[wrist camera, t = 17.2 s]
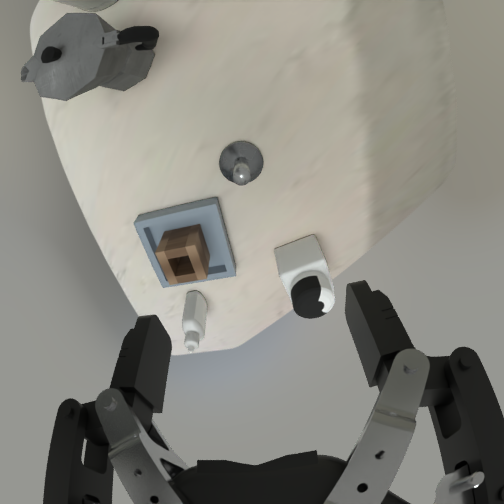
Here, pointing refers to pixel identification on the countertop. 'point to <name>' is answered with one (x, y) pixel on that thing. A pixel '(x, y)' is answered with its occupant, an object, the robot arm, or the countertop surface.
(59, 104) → the countertop surface
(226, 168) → the grey metal coffee tamper
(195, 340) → the eye dropper bottle
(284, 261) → the medicine bottle
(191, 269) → the block
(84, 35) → the coffeepot
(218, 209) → the tray
